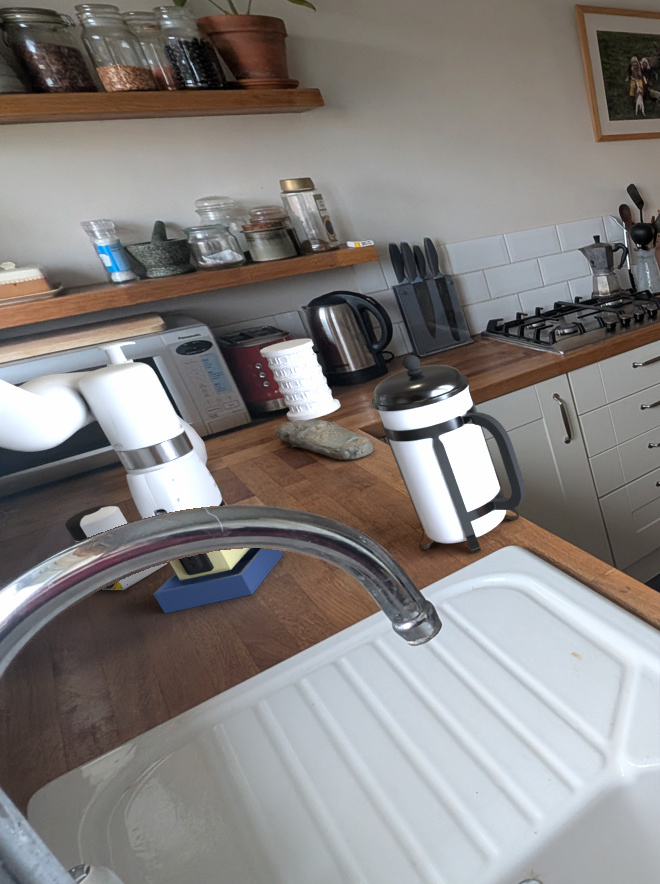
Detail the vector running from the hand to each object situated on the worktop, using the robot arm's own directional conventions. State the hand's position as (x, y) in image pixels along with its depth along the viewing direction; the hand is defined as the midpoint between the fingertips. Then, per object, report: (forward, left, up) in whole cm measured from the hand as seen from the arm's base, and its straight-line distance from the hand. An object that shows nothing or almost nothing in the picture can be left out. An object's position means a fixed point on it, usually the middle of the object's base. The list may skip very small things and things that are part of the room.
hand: (214, 557), depth 101 cm
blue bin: (0, 0, -4) cm, 4 cm away
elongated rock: (-5, +55, -5) cm, 56 cm away
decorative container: (-17, +83, -5) cm, 85 cm away
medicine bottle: (-18, +9, -5) cm, 21 cm away
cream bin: (0, 0, -1) cm, 1 cm away
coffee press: (+37, -2, -5) cm, 37 cm away
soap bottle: (-32, +52, -5) cm, 61 cm away
